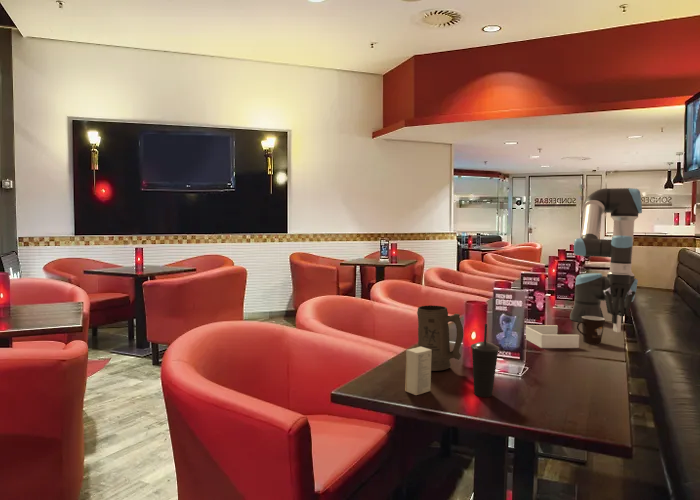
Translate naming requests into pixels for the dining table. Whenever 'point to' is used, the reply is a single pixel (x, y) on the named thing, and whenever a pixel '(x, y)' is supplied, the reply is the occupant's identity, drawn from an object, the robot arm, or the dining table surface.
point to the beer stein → (438, 335)
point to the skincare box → (418, 370)
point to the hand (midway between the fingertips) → (616, 331)
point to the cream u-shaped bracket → (550, 337)
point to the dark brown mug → (592, 329)
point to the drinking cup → (484, 366)
